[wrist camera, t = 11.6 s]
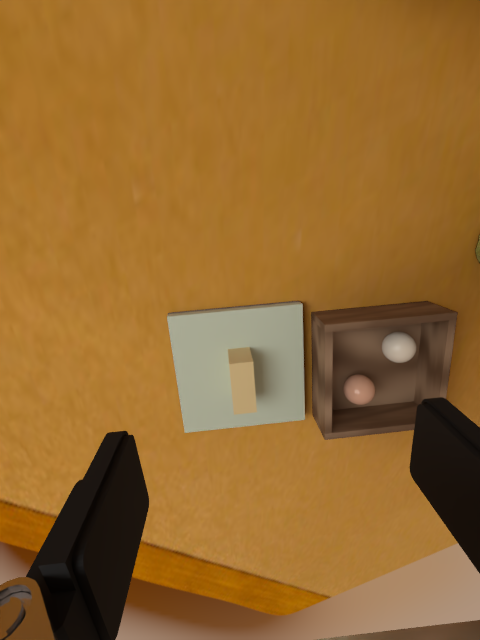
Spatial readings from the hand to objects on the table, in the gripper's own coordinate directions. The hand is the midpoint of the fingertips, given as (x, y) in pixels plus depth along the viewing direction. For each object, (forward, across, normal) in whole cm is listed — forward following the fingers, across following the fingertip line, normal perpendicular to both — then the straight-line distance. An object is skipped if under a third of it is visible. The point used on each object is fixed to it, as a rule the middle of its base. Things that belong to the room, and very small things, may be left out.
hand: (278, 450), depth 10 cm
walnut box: (+26, -15, +12) cm, 33 cm away
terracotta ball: (+26, -13, +14) cm, 32 cm away
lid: (+25, +1, +10) cm, 27 cm away
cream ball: (+26, -18, +9) cm, 33 cm away
